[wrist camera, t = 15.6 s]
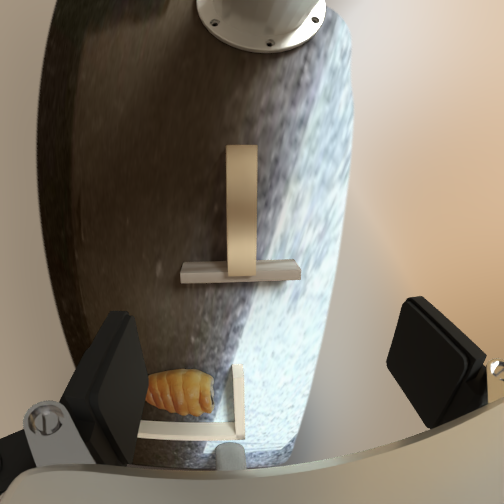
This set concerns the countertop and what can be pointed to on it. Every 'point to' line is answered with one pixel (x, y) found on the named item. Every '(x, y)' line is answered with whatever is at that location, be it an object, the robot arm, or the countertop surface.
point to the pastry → (181, 391)
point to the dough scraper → (240, 230)
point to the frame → (203, 429)
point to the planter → (230, 457)
